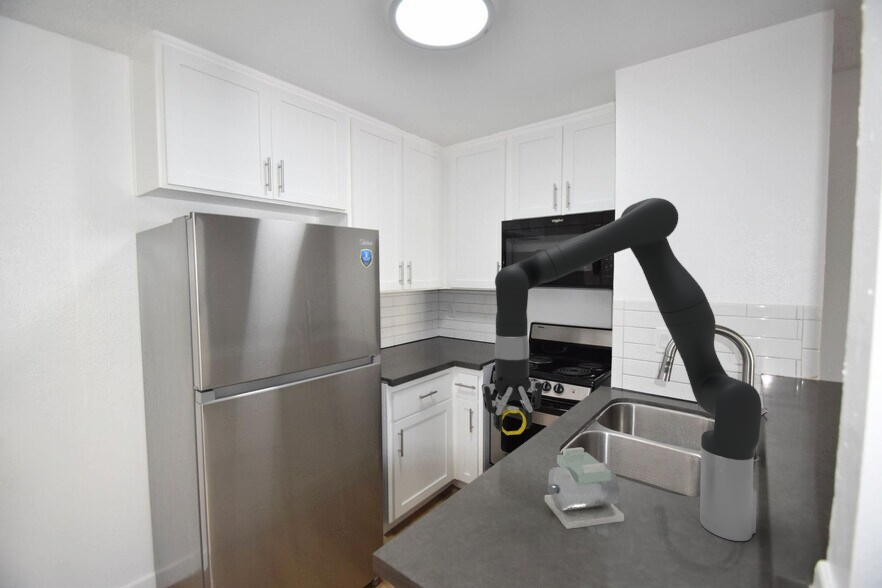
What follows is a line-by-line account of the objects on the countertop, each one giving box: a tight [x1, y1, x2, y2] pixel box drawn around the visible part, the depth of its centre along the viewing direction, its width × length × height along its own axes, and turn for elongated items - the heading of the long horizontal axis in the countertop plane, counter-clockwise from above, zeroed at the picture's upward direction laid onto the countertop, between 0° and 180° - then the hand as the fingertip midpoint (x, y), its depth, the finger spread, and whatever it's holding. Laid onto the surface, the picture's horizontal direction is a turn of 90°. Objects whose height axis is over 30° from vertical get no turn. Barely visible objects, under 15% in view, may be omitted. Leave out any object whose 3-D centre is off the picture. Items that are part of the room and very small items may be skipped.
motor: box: [544, 447, 625, 530], centre depth 92 cm, size 16×11×13 cm
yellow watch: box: [501, 405, 526, 436], centre depth 88 cm, size 6×3×6 cm, turn 97°
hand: (512, 428), depth 88 cm, fingers closed on yellow watch, 6 cm apart
